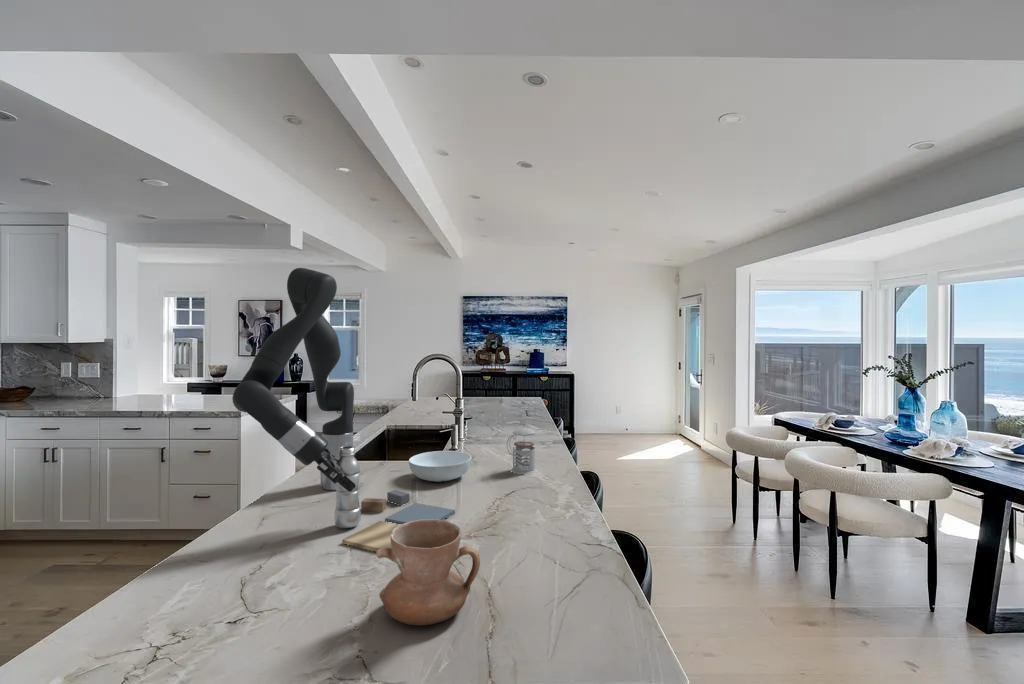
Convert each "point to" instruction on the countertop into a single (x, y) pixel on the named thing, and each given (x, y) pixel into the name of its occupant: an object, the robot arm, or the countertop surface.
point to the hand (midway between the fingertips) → (352, 483)
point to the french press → (523, 452)
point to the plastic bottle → (347, 501)
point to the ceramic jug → (426, 572)
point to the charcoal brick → (398, 497)
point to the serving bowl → (440, 465)
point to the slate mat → (419, 513)
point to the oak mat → (372, 536)
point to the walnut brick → (373, 505)
